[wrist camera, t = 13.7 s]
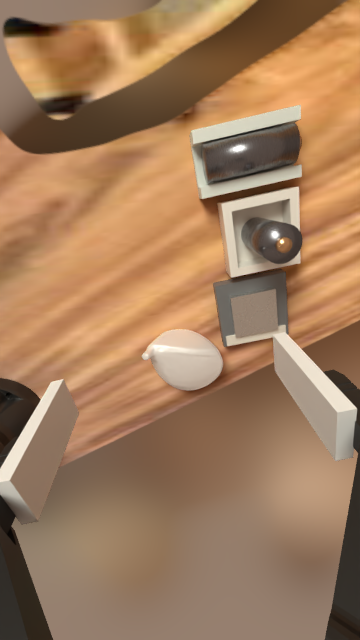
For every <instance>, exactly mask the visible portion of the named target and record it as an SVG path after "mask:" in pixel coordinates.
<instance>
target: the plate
mask: <svg viewBox="0 0 360 640" xmlns="http://www.w3.org/2000/svg"><path fill="white" fill-rule="evenodd" d="M229 298H230V305H231V313H232V320H233V327H234V335H235V337H240V336H246V335H251V334H256V333H261V332H266V331H271V330H276V329H278V318H277V301H276V289H275V288H274V287H271V288H266V289H261V290H257V291H252V292H247V293H242V294H237V295H232V296H229Z"/></svg>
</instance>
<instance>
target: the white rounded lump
mask: <svg viewBox="0 0 360 640" xmlns="http://www.w3.org/2000/svg"><path fill="white" fill-rule="evenodd" d="M142 358H143V359H144V360H148V359H151V362H152V364H153V366H154V368H155V370H156V371H157V373H158V375H159V376H160V377H161V378H162V379H163V380H164V381H165V382H167V383H168V384H169V385H171V386H173V387H175V388H177V389H180V390H187V391H189V390H197V389H200V388H203V387H205V386H207V385H209V384H210V383H212V382H213V381H214V380H215V379H216V378H217V377H218V376H219V375H220V373H221V371H222V368H223V359H222V357H221V354H220V352H219V351H218V349H217V348H216V347H215V346H214V344H213V343H212V342H210V341H209V340H208V339H207V338H205V337H204V336H202V335H200V334H199V333H196V332H194V331H191V330H186V329H174V330H169V331H166V332H164V333H162V334H161V335H160V336H158V337H157V338H156V339H155V340H154V341H153V342H152V343H151V344H150V345H149V346H148V348H147V350H146V351H145V352H144V353H143V354H142Z"/></svg>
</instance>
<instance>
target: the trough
mask: <svg viewBox="0 0 360 640" xmlns="http://www.w3.org/2000/svg"><path fill="white" fill-rule="evenodd" d="M300 119H301V105H297V106H293V107H289V108H285V109H280V110H276V111H272V112H268V113H264V114H259V115H255V116H251V117H247V118H242V119H238V120H234V121H230V122H226V123H221V124H217V125H213V126H209V127H205V128H200V129H196V130H192V131H191V133H190V136H189V137H190V143H191V149H192V155H193V162H194V168H195V174H196V180H197V187H198V193H199V199H204V198H209V197H213V196H217V195H222V194H226V193H231V192H235V191H240V190H244V189H249V188H253V187H258V186H262V185H267V184H271V183H275V182H280V181H284V180H289V179H293V178H298V177H302V168H301V165H296V166H293V165H289V166H284V167H280V168H276V169H271V170H267V171H262V172H258V173H253V174H249V175H245V176H240V177H236V178H231V179H227V180H223V181H218V182H214V183H209V184H207V183H206V180H205V176H204V171H203V165H202V156H201V145H202V144H205V143H210V142H214V141H218V140H222V139H227V138H231V137H235V136H240V135H244V134H248V133H252V132H257V131H261V130H265V129H269V128H274V127H278V126H282V125H287V124H291V123H295V122H296V121H298V120H300Z"/></svg>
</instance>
